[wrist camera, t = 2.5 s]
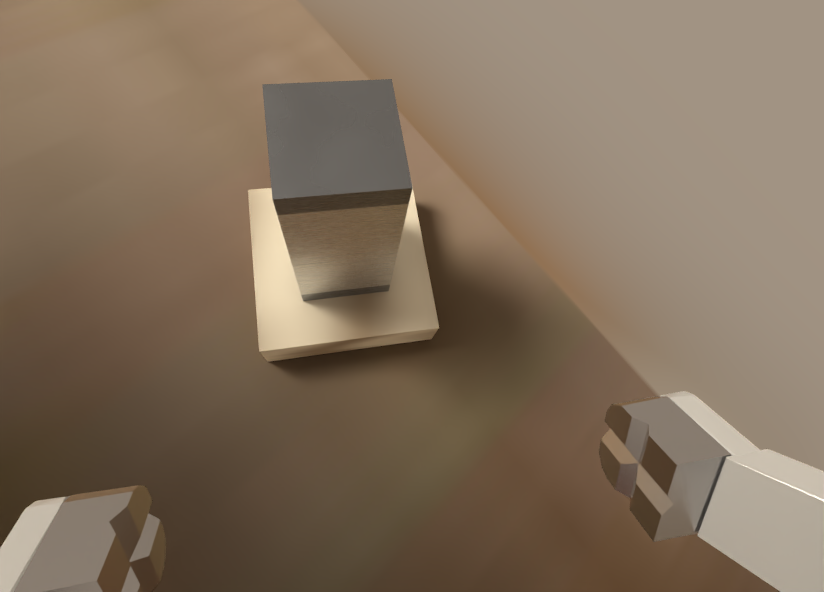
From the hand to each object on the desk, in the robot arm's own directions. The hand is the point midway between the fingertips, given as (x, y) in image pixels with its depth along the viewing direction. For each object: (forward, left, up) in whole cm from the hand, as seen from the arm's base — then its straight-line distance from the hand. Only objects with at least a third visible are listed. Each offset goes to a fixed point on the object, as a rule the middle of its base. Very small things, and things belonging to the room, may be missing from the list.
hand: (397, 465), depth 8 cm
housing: (+4, +10, -14) cm, 18 cm away
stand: (+4, +10, -17) cm, 20 cm away
